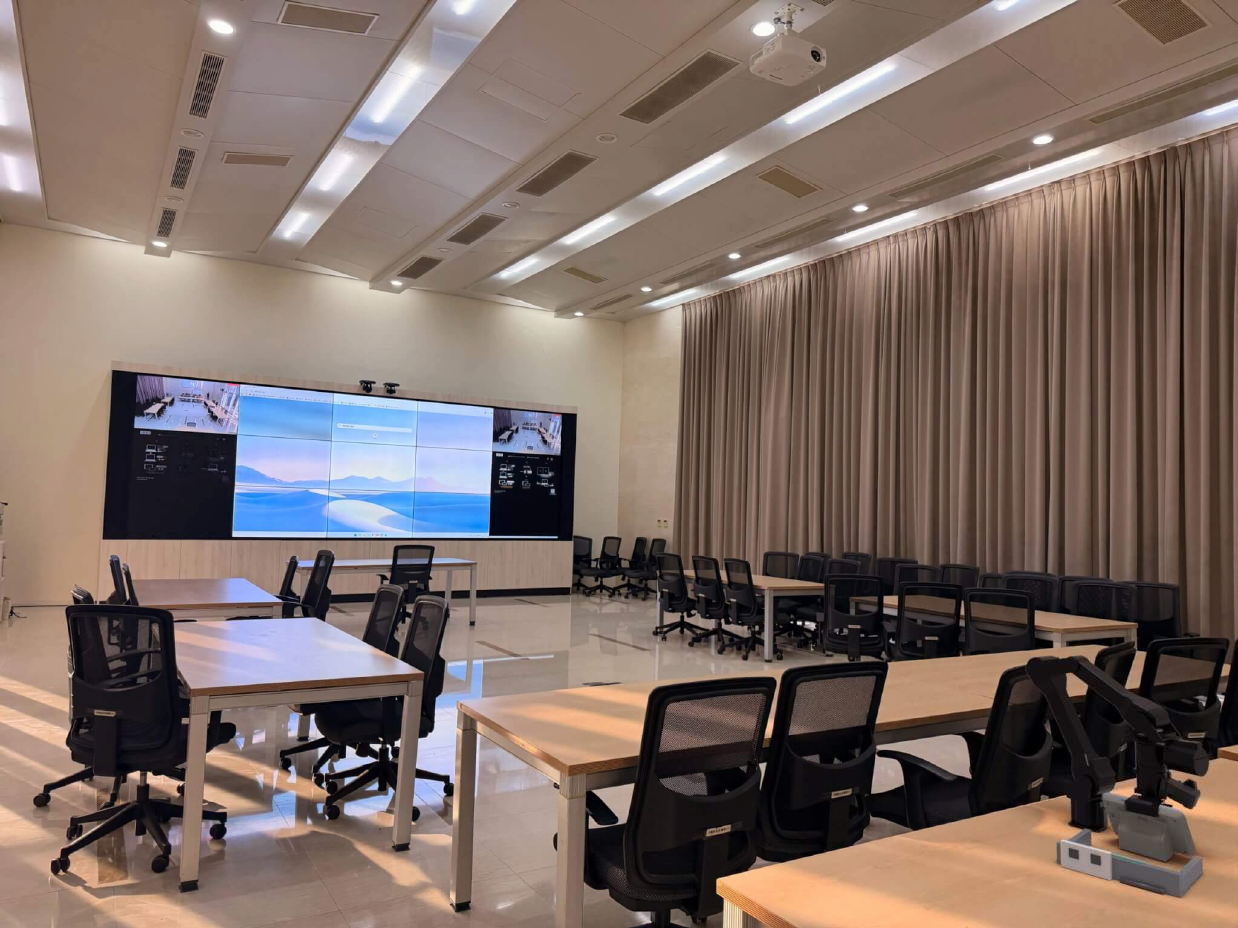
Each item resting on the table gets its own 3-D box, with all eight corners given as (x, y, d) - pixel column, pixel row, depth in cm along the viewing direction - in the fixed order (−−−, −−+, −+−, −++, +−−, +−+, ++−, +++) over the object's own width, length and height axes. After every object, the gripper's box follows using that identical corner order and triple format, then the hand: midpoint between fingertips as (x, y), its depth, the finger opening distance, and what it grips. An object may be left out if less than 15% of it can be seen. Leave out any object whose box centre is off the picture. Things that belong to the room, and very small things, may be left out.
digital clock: (1202, 856, 171) (1196, 805, 171) (1174, 871, 168) (1168, 819, 167) (1126, 827, 186) (1120, 780, 186) (1099, 840, 183) (1093, 792, 182)
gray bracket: (1054, 864, 169) (1053, 839, 170) (1085, 842, 182) (1084, 818, 182) (1177, 899, 154) (1176, 871, 154) (1202, 872, 166) (1201, 846, 166)
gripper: (1184, 781, 169) (1188, 861, 168) (1205, 763, 182) (1209, 837, 180) (1122, 770, 177) (1125, 846, 176) (1146, 753, 190) (1150, 824, 188)
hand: (1154, 838), depth 180 cm, fingers closed, pressing on digital clock
